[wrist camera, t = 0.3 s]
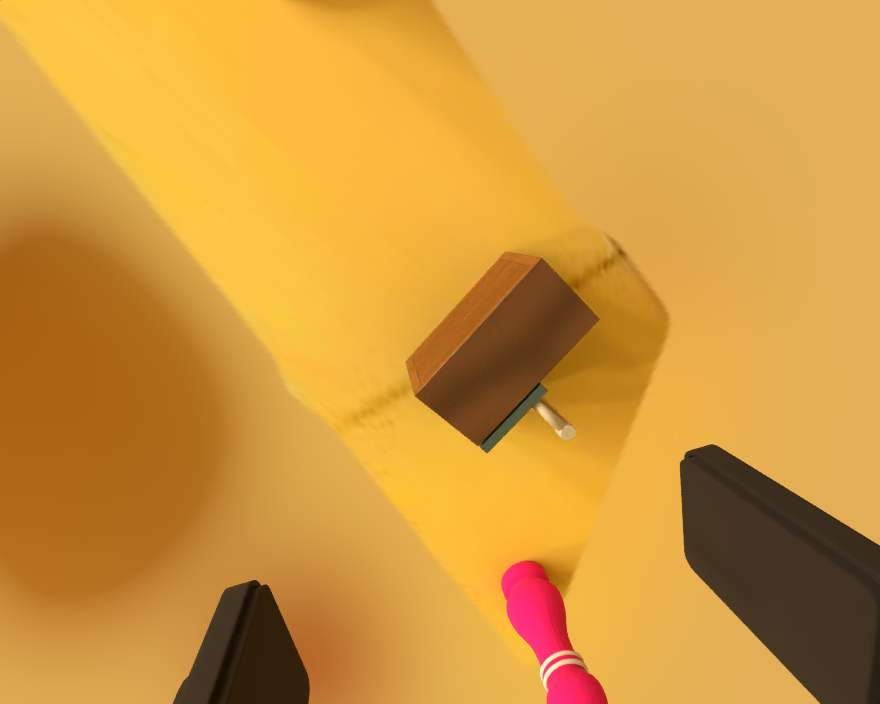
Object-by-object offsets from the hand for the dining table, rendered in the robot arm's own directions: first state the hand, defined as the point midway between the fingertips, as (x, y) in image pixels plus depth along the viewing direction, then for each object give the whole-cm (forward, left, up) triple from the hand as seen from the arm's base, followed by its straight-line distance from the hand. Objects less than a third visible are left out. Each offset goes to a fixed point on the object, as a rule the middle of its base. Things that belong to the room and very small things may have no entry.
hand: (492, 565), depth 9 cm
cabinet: (+9, +4, -37) cm, 38 cm away
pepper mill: (+38, -17, -37) cm, 56 cm away
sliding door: (+17, 0, -37) cm, 40 cm away
